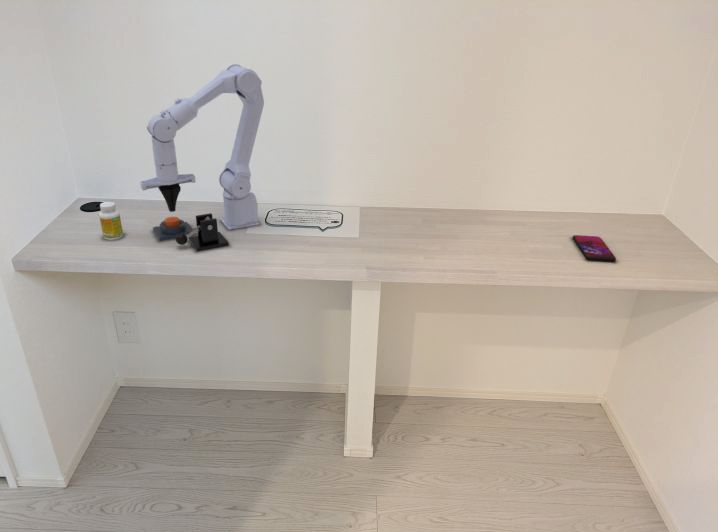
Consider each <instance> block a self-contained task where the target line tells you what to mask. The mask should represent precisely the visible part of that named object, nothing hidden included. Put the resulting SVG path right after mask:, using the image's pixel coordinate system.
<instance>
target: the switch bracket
mask: <svg viewBox="0 0 718 532" xmlns="http://www.w3.org/2000/svg"><path fill="white" fill-rule="evenodd" d="M207 216H208V217H209V218H210V219H208V220H203V219H204V218H206V217H207ZM201 220H202V221H201ZM195 221H196V222H195V223H196V227H197V226H199V225H200V227H201V230H200V231H199V232H197V233H196V234H197V235H192V236H190V237H189V238H188V242H189V243H190V244H191V246H192V247H193V249H194V250H195V251H196V253H199V252H204V251H209V250H214V249H219V248H220V249H221V248H224V247H229V245H230V244H229V241H228V240H227V239H226V238H225V237H224V235H223V234H222V233H221V232H220V231H219V229H218V219H217V218H216V217H215V218H213V213H212V212H209V213H203V214H198V215H195ZM199 221H200V222H199Z"/></svg>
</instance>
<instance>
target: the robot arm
mask: <svg viewBox="0 0 718 532" xmlns="http://www.w3.org/2000/svg"><path fill="white" fill-rule="evenodd" d="M262 83H263V81H262V80H261V78H260V77H259V75H258V74H257V72H255V70H253V69H252V68H251V69H250V68H246V67H243V66H242V65H240V64H237V63H234V64H231V65H229V66H228V67H227V68H226V69H222V70H221V71H220V72H219V73H217V75H216V76H215V77H214V78H213V79H211V80H210V81H209V82H208V83H206V84H205V85H204V86H203V87H202V88H200V89H199V90H198V91H197V92H196V93H195V94H193V96H191V97H189V98H188V97H181V98H180V97H177V98H176V99H175V100H174V103H173V104H172V105H171V106H169V107H168V108H166V109H165V110H163V109H162V110H161V111H159V113H160V114H158V115H157V114H155V115H153V116H151V118H150V119H149V120H148V123H147V126H146V130H147V132H148V133H149V134H150V136H151V143H152V152H153V153H152V154H153V160H154V168H155V174H156V177H153V178H149V179H146V180H142V181H141V180H140V181H139V182H140V183H139V184H140V188H141V190H142V191H147V190H149V189H157V188H158V190H159V192H160V193H161V195H162V197H163V198H164V201H165V203H166V205H167V209H168V211H169V212H170V213H173V212H176V208H177V207H176V206H177V201H178V197H179V195H180V192H181V191H182V190H181V189H182V188H181V185H183V184H189V183H191V184H194V183H195V184H196V175H195V174H194V173H183V174H179V170H178V161H177V153H176V145H175V140H174V139H175V138H176V136H177V132H178V131H179V130H181V129H182V128H183V127H185V126H187V124H189V123H190V122H191V121H193V120H194V119H196V118H197V117H198V113H199V109H201V108H202V107H204V106H206V105H207V104H209V103H210V102H212V101H213V100H215V99H216V98H218V97H219V96H221V95H222V94H237V95H236V96H237V97H238V98H239V100H240V101H241V103H242V110H241V114H240V116H239V117H240V118H239V122H238V126H237V131H236V134H235V139H234V143H233V147H232V150H231V155H230V159H229V160H228V161H227V162H226V163H225V164H224V165H225V166H224V168H223V170H222V171H221V173H220V174H219V177H218V182H219V185H220V186H221V187H222V188H223V192H222V197H223V210H224V211H223V212H224V218H221V219H220V221H221V223H222V224H223V225H224V227H226V228H227V230H229V231H231V230H236V229H237V230H238V229H241V228H248V227H254V226H259V225H260V222H259V213H258V200H257V197H256V195H255V193H254V192H251V190H252V189H251V188H252V185H251V177H252V174H251V170H250V166H249V165H250V161H251V157H252V154H253V149H254V146H255V141H256V137H257V133H258V129H259V126H260V122H261V117H262V114H263V109H264V105H265V101H264V100H265V99H264V95H263V90H262Z"/></svg>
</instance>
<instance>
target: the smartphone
mask: <svg viewBox="0 0 718 532" xmlns="http://www.w3.org/2000/svg"><path fill="white" fill-rule="evenodd" d="M572 239H573V241H574V242H575V245H577V247H578V248H579V250H580V252H581V253H582V255H583V256H584V257H585V259H586V260H588V261H603V262H616V260H617V258H616V256H615V255H614V253H613V251H611V249H610V248H609V247H608V246H607V244H606V243H605V241H604V240H603V239H602V238H601V237H600V236H597V235H582V234H581V235H580V234H579V235H578V234H574V235H572Z"/></svg>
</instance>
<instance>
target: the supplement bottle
mask: <svg viewBox="0 0 718 532" xmlns="http://www.w3.org/2000/svg"><path fill="white" fill-rule="evenodd" d="M116 207H117V206H116V203H115V202H113V201H104V202H101V203H100V204H99V208H100V211H99V214H98V216H99V221H100V227H101V232H102V237H103V239H105V240H107V241H115V240H119V239H121V238H123V236H124V231H123V225H122V220H121V214H120V211H119V210H118V209H117V208H116Z"/></svg>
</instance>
